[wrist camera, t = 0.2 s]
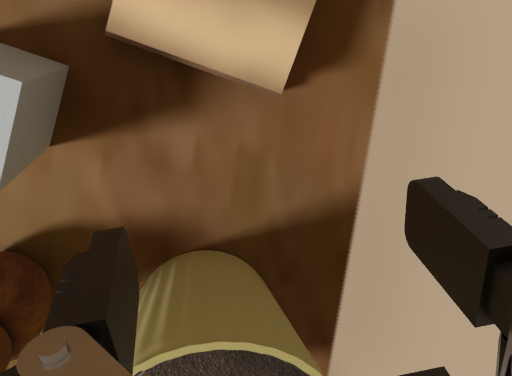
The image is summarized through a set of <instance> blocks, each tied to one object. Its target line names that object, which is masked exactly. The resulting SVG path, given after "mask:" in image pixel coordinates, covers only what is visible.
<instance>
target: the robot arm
mask: <svg viewBox="0 0 512 376" xmlns="http://www.w3.org/2000/svg"><path fill="white" fill-rule="evenodd" d="M405 236H406V240H407V242H408V245H409V247H410V248H411V249H412V250H413V252H414V253H415V254H416V256H417V257H418V258H419V259H420V260H421V262H422V263H423V264H424V265H425V266H426V268H427V269H428V270H429V271H430V273H431V274H432V275H433V276H434V278H435V279H436V280H437V281H438V283H439V284H440V285H441V286H442V287H443V289H444V290H445V291H446V292H447V294H448V295H449V296H450V297H451V298H452V300H453V301H454V302H455V303H456V305H457V306H458V307H459V308H460V309H461V311H462V312H463V313H464V314H465V316H466V317H467V318H468V319H469V321H470V322H471V323H472V324H473V325H474V327H480V326H486V325H490V324H495V325H496V326H497V327H498V328H499V330H500V331H501V332H500V336H499V343H498V354H497V355H498V356H497V367H496V376H512V226H511V225H509V224H508V223H507V222H506V221H504V220H503V219H502V218H501V217H500V218H498V215H497V214H496V213H494V212H493V211H492V210H490V209H489V210H488V207H487V206H486V205H484V204H483V203H482V202H481V201H479V200H478V199H477V198H475V197H473V196H471V195H468V194H466V193H464V192H461V191H459V190H457V191H455V190H454V189H453V188H451V186H449V185H448V184H447V183H446V182H445V181H443V180H442V179H441V178H439V177H431V178H424V179H418V180H413V181H410V183H409V185H408V190H407V202H406V215H405ZM138 307H139V281H138V275H137V271H136V267H135V263H134V260H133V256H132V252H131V248H130V244H129V240H128V236H127V233H126V230H125V228H124V227H120V228H113V229H107V230H101V231H95V232H94V235H93V239H92V243H91V246H90V250H89V251H87V252H81V253H76V254H75V256H74V257H73V258H72V259H71V260H70V261H69V262H68V263H67V264H66V265H65V266H64V269H63V272H62V275H61V278H60V283H59V284H58V287H57V290H56V295H55V296H54V299H53V302H52V305H51V308H50V311H49V314H48V317H47V320H46V323H45V326H44V329H43V332H42V334H40V335H38V336H37V337H35V338H34V339H32V340H31V341H30V342H29V343H28V344H27V345H26V346H25V347H24V348H23V350H22V351H21V352H20V354H19V356H18V359H17V363H16V365H15V366H13V367H12V368H10V369H8V370H6V371H4V372H2V373H0V376H133V375H132V374H133V363H134V352H135V340H136V329H137V318H138ZM134 376H150V375H149V374H147V373H146V372H144V371H139V372H138V373H137V374H135V375H134ZM400 376H450V375H449V374H448V372H447V370H446V369H445V367H439V368H434V369H429V370H424V371H419V372H414V373H410V374H404V375H400Z"/></svg>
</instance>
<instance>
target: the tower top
mask: <svg viewBox="0 0 512 376" xmlns="http://www.w3.org/2000/svg"><path fill="white" fill-rule="evenodd" d="M315 3H316V0H113V3H112V7H111V11H110V14H109V18H108V22H107V26H106V30H105V31H108V32H111V33H114V34H117V35H119V36H122V37H125V38H128V39H130V40H133V41H136V42H139V43H142V44H144V45H147V46H150V47H153V48H155V49H158V50H161V51H164V52H167V53H169V54H172V55H175V56H178V57H180V58H183V59H186V60H189V61H192V62H194V63H197V64H200V65H203V66H205V67H208V68H211V69H214V70H217V71H219V72H222V73H225V74H228V75H230V76H233V77H236V78H239V79H242V80H244V81H247V82H250V83H253V84H256V85H258V86H261V87H264V88H267V89H269V90H272V91H275V92H278V93H281V94H282V92H283V89H284V86H285V84H286V81H287V78H288V75H289V73H290V70H291V67H292V65H293V62H294V59H295V57H296V54H297V51H298V48H299V46H300V43H301V40H302V38H303V35H304V32H305V30H306V27H307V24H308V21H309V19H310V16H311V13H312V11H313V8H314V5H315Z"/></svg>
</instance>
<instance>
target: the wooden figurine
mask: <svg viewBox="0 0 512 376" xmlns="http://www.w3.org/2000/svg"><path fill="white" fill-rule="evenodd" d="M51 305H52V288H51V283H50V281H49V279H48V277H47V275H46V273H45V272H44V270H43V269H42V268H41V267H40V266H39V265H38V264H37V263H36V262H35V261H33V260H32V259H30V258H29V257H27V256H25V255H22V254H19V253H17V252H0V373H2V372H4V371H6V368H7V366H8V364H9V361H12V360H15V359H18V356H19V354H20V352H21V351H22V350H23V348H24V347H25V346H26V345H27V344H28V343H29V342H30V341H31V340H32V339H34V338H35V337H37V336H38V335H39V334H40V332H41V331H42V329H43V327H44V326H45V323H46V320H47V317H48V314H49V311H50V308H51Z"/></svg>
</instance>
